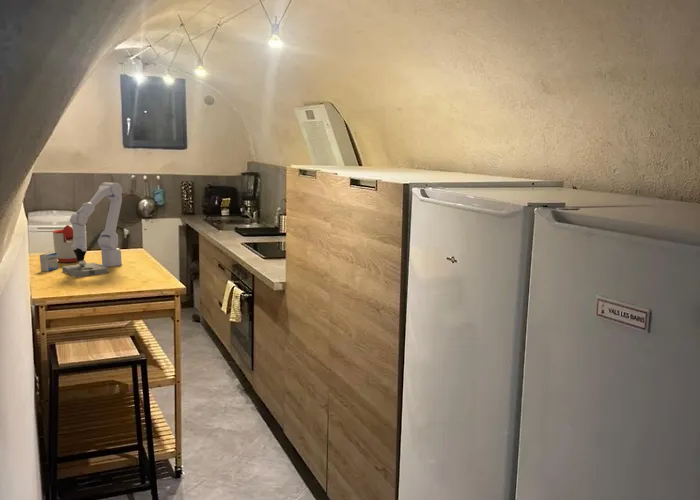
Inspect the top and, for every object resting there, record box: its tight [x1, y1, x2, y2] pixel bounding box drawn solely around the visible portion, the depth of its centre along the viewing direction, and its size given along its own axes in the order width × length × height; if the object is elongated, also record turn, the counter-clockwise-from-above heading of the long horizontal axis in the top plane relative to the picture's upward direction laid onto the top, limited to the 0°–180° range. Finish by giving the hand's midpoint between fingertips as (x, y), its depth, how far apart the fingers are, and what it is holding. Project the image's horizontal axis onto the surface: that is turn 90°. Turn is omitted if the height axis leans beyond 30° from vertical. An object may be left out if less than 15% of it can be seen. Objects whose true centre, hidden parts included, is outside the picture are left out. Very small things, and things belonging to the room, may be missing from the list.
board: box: [61, 262, 109, 278], centre depth 331 cm, size 16×20×2 cm
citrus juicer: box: [52, 224, 78, 264], centre depth 360 cm, size 16×17×20 cm
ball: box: [78, 260, 87, 267], centre depth 333 cm, size 4×4×4 cm
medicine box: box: [39, 251, 59, 272], centre depth 337 cm, size 8×4×9 cm, turn 168°
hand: (80, 263), depth 334 cm, fingers closed, pressing on ball
